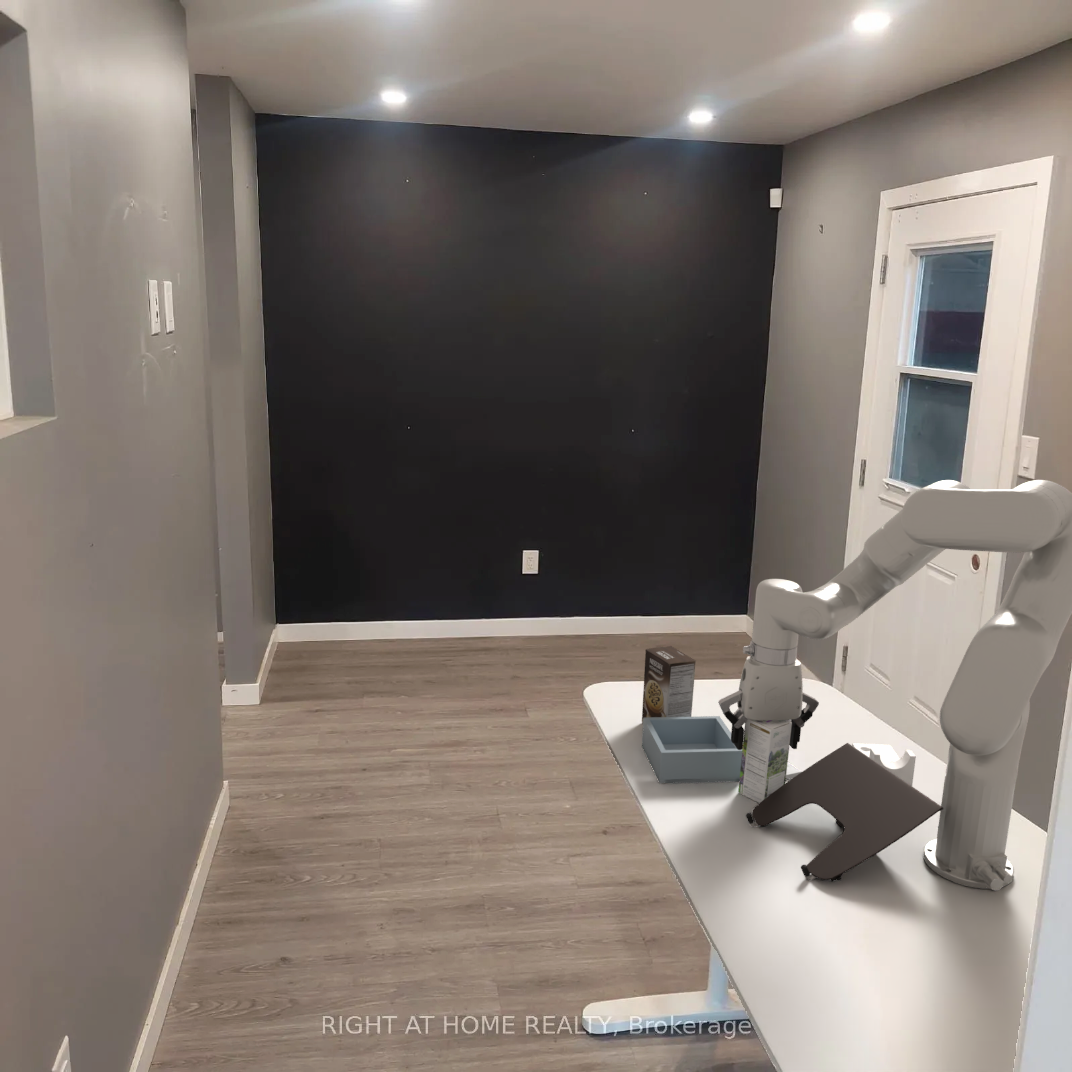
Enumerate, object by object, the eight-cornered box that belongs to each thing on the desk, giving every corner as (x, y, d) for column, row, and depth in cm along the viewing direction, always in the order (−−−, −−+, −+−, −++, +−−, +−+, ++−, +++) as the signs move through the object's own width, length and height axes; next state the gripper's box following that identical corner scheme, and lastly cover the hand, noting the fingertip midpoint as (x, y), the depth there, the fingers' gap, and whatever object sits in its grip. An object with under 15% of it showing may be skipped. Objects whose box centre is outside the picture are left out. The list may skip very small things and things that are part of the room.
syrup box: (758, 783, 169) (764, 708, 166) (785, 797, 165) (792, 719, 161) (737, 793, 166) (743, 716, 162) (764, 806, 161) (771, 728, 158)
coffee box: (640, 723, 193) (644, 648, 190) (666, 718, 196) (671, 644, 192) (664, 741, 185) (668, 663, 182) (691, 735, 188) (696, 659, 184)
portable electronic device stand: (751, 845, 161) (733, 804, 158) (859, 773, 165) (843, 732, 162) (834, 926, 140) (816, 881, 136) (955, 842, 144) (940, 796, 141)
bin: (741, 781, 170) (743, 750, 168) (659, 783, 168) (661, 752, 167) (717, 744, 184) (719, 716, 183) (641, 746, 183) (643, 717, 181)
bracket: (911, 795, 167) (915, 756, 165) (870, 793, 167) (874, 754, 166) (888, 762, 180) (892, 725, 178) (850, 760, 180) (854, 723, 178)
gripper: (730, 661, 155) (722, 757, 159) (831, 660, 157) (821, 755, 161) (717, 645, 162) (709, 737, 166) (814, 644, 164) (804, 735, 168)
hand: (764, 746), depth 163 cm, fingers open, 9 cm apart
